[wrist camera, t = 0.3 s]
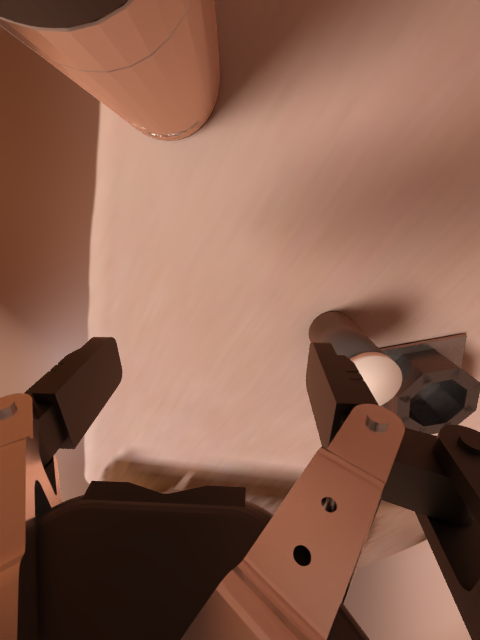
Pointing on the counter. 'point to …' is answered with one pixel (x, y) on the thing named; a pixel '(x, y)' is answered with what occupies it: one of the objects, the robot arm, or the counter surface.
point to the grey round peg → (359, 353)
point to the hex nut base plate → (432, 384)
